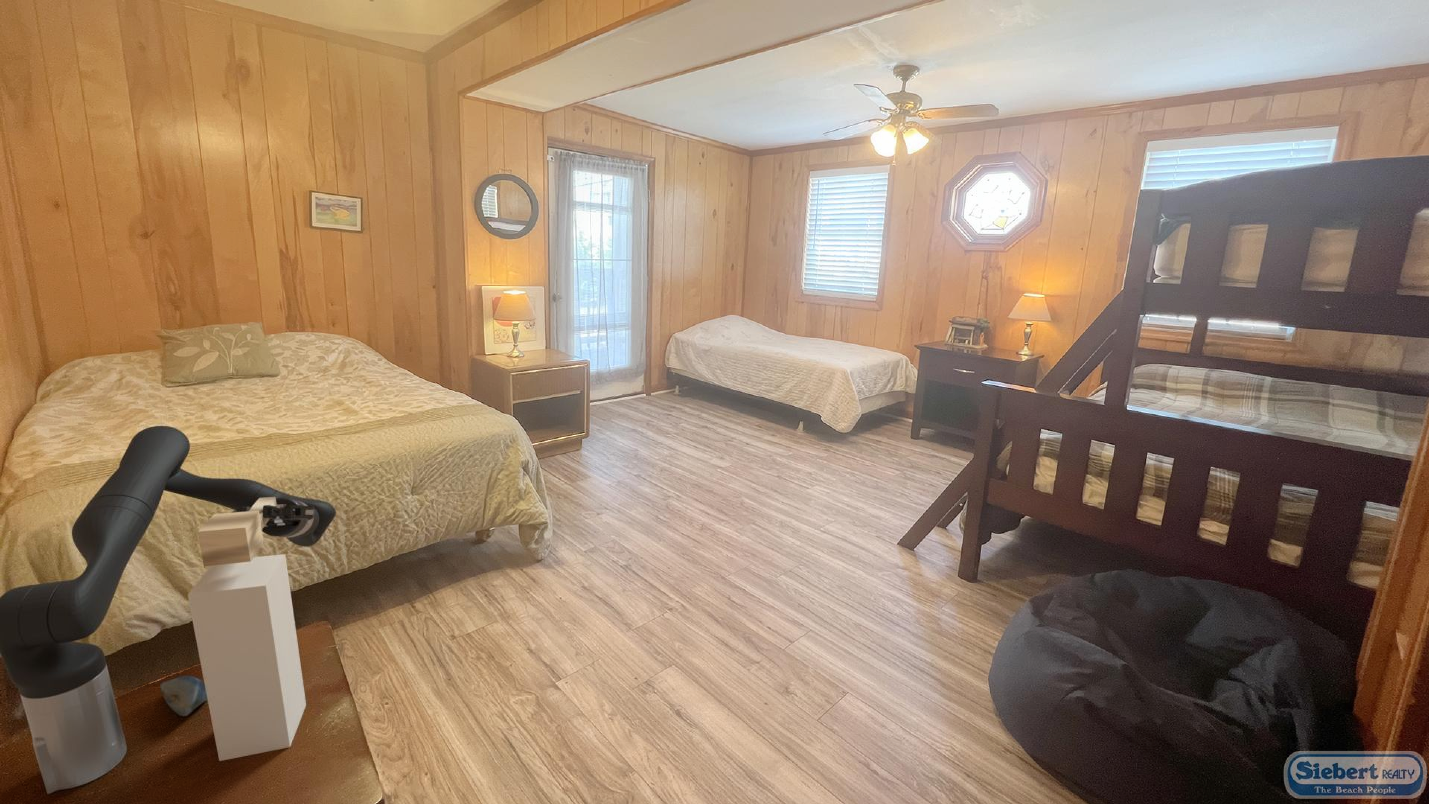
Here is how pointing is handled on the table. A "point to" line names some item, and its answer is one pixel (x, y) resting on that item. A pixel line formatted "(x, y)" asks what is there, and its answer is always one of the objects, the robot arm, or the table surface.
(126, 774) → the table surface
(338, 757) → the table surface
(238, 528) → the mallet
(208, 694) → the stand
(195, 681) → the blue rounded lump
